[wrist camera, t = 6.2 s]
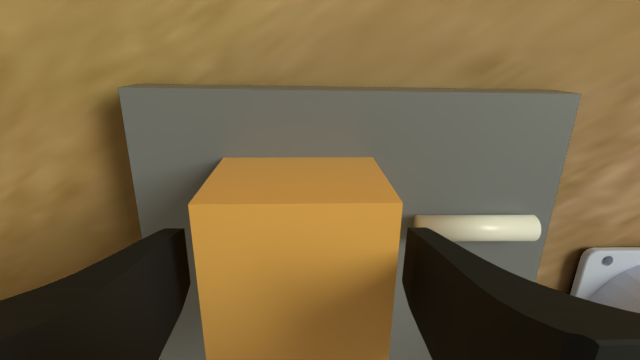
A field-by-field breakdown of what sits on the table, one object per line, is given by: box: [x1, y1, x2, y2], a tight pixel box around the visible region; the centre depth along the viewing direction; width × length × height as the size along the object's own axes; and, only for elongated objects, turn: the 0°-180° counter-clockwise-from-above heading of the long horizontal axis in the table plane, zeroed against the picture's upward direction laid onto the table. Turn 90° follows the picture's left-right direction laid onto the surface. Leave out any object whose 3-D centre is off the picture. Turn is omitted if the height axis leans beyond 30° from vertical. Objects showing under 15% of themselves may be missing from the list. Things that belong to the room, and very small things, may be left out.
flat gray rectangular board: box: [118, 84, 581, 360], centre depth 14 cm, size 16×12×4 cm
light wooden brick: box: [188, 157, 403, 360], centre depth 12 cm, size 5×5×4 cm
